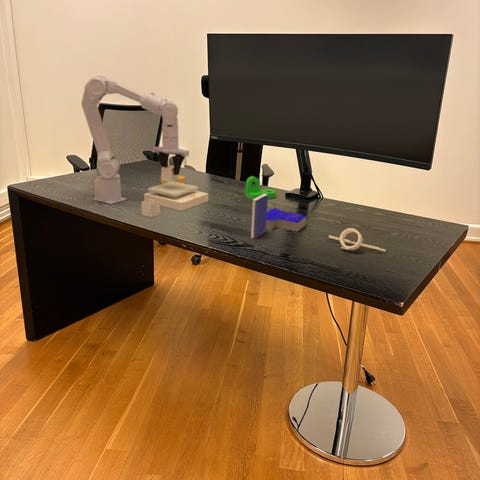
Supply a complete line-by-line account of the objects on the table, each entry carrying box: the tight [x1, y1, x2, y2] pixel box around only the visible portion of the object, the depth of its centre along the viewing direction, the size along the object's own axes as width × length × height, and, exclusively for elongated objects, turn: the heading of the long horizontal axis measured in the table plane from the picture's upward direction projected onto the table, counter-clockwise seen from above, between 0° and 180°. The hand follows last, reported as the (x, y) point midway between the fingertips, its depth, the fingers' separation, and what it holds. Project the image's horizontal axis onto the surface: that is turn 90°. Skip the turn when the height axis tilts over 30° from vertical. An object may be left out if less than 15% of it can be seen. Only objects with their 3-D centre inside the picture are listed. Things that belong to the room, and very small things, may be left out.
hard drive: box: [250, 194, 268, 239], centre depth 145 cm, size 2×8×12 cm, turn 152°
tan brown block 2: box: [160, 164, 179, 182], centre depth 174 cm, size 4×4×5 cm
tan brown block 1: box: [141, 199, 161, 218], centre depth 161 cm, size 4×4×5 cm
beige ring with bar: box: [328, 227, 386, 253], centre depth 138 cm, size 18×10×6 cm
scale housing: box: [143, 190, 209, 212], centre depth 177 cm, size 18×16×4 cm
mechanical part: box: [244, 175, 277, 201], centre depth 188 cm, size 12×6×8 cm, turn 117°
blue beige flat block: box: [266, 207, 307, 233], centre depth 155 cm, size 11×15×5 cm
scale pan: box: [147, 181, 199, 197], centre depth 177 cm, size 13×14×1 cm
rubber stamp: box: [160, 156, 187, 184], centre depth 200 cm, size 10×6×12 cm, turn 53°
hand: (171, 173), depth 175 cm, fingers closed on tan brown block 2, 4 cm apart
